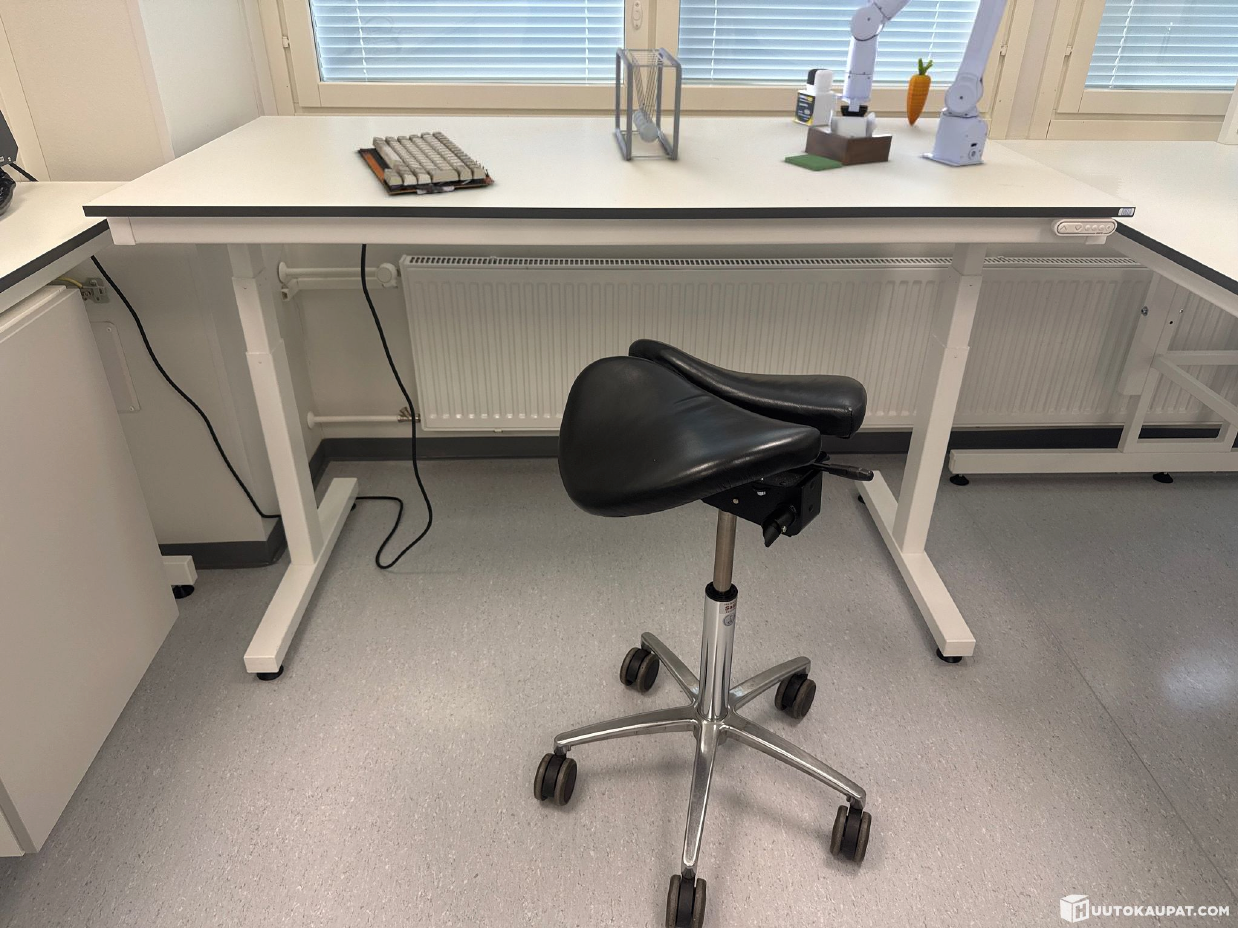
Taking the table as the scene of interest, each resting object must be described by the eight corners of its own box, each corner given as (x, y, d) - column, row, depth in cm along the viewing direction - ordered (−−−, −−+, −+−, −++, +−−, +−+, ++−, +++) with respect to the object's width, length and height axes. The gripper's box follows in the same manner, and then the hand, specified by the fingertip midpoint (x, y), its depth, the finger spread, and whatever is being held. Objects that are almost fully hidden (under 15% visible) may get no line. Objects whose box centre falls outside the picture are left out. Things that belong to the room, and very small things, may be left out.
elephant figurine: (863, 149, 177) (870, 105, 172) (873, 162, 167) (881, 116, 162) (818, 148, 177) (824, 104, 173) (826, 161, 167) (832, 114, 162)
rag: (841, 166, 163) (842, 162, 163) (815, 171, 160) (816, 166, 160) (809, 157, 170) (810, 153, 169) (784, 161, 166) (784, 157, 166)
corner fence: (887, 161, 168) (892, 135, 165) (843, 165, 164) (847, 139, 161) (847, 148, 178) (851, 123, 175) (804, 152, 174) (808, 127, 171)
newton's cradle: (677, 162, 164) (682, 64, 155) (626, 162, 164) (627, 64, 154) (659, 132, 189) (663, 46, 180) (614, 132, 189) (615, 46, 179)
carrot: (919, 124, 203) (933, 56, 194) (923, 127, 198) (938, 59, 190) (899, 123, 203) (912, 56, 195) (903, 127, 199) (916, 58, 191)
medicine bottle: (793, 121, 203) (800, 68, 196) (817, 119, 206) (824, 66, 199) (811, 126, 198) (818, 72, 191) (834, 124, 200) (842, 70, 194)
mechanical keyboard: (356, 151, 168) (354, 134, 166) (448, 145, 174) (446, 128, 173) (391, 199, 139) (388, 178, 137) (499, 189, 146) (498, 170, 144)
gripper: (841, 67, 176) (831, 134, 184) (838, 76, 165) (828, 147, 172) (875, 69, 175) (864, 136, 182) (874, 78, 163) (862, 149, 170)
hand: (848, 141), depth 177 cm, fingers closed, pressing on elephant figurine
